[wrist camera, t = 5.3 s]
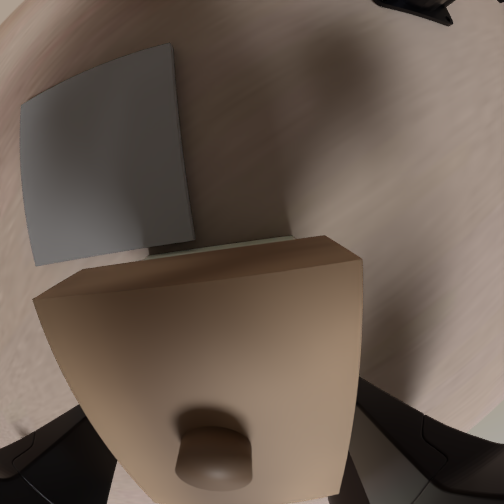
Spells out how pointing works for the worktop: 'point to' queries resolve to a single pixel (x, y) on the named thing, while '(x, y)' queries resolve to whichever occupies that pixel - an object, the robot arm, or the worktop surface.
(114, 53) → the worktop surface
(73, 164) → the mat
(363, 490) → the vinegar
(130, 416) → the cover
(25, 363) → the worktop surface
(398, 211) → the worktop surface
